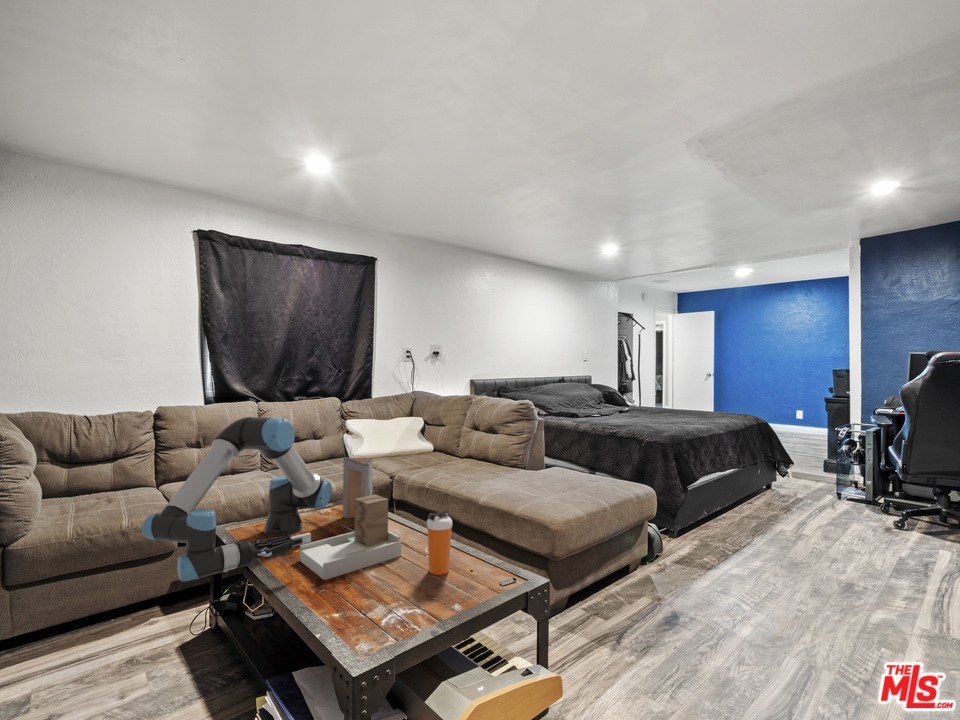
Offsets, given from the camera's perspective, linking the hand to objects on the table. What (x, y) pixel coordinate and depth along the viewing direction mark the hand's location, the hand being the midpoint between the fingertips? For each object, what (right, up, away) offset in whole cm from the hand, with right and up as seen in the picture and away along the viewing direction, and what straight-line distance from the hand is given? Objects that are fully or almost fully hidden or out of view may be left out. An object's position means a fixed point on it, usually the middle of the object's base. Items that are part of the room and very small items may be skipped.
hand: (309, 537), depth 162 cm
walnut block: (+17, -8, +18) cm, 26 cm away
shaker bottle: (+45, -12, +1) cm, 46 cm away
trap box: (+11, -12, +11) cm, 20 cm away
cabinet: (+5, -13, +53) cm, 55 cm away
